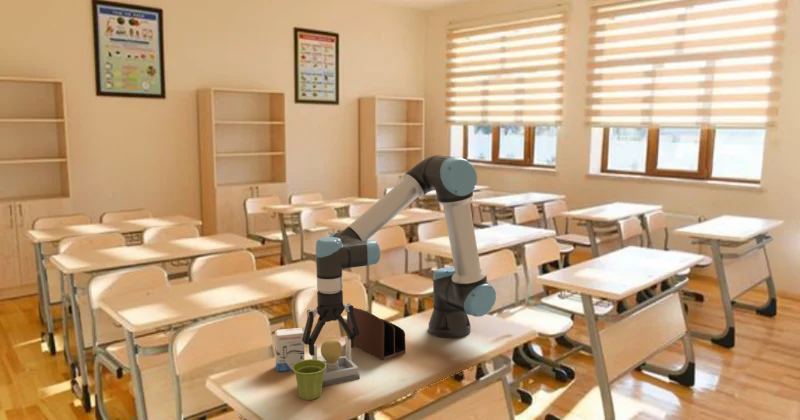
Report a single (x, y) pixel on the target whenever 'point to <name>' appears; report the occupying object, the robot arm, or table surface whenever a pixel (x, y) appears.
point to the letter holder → (377, 336)
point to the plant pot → (309, 378)
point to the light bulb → (331, 354)
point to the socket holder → (341, 372)
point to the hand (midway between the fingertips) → (332, 361)
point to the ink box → (288, 348)
